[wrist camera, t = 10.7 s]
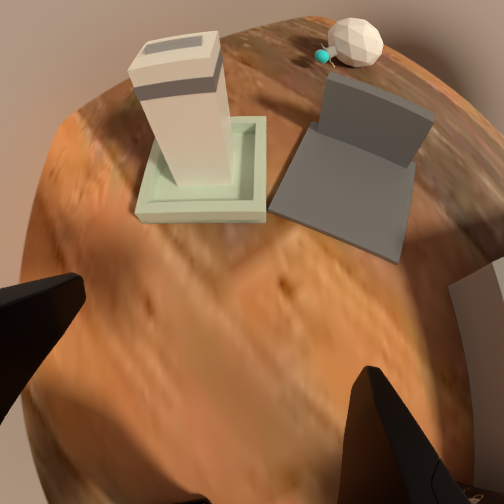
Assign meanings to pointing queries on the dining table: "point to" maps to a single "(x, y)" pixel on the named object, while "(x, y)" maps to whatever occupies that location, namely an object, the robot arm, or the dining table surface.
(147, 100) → the banded cream pillar
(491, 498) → the coffee mug
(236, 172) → the tray
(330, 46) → the perfume bottle
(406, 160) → the dock
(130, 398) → the dining table surface
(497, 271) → the box
